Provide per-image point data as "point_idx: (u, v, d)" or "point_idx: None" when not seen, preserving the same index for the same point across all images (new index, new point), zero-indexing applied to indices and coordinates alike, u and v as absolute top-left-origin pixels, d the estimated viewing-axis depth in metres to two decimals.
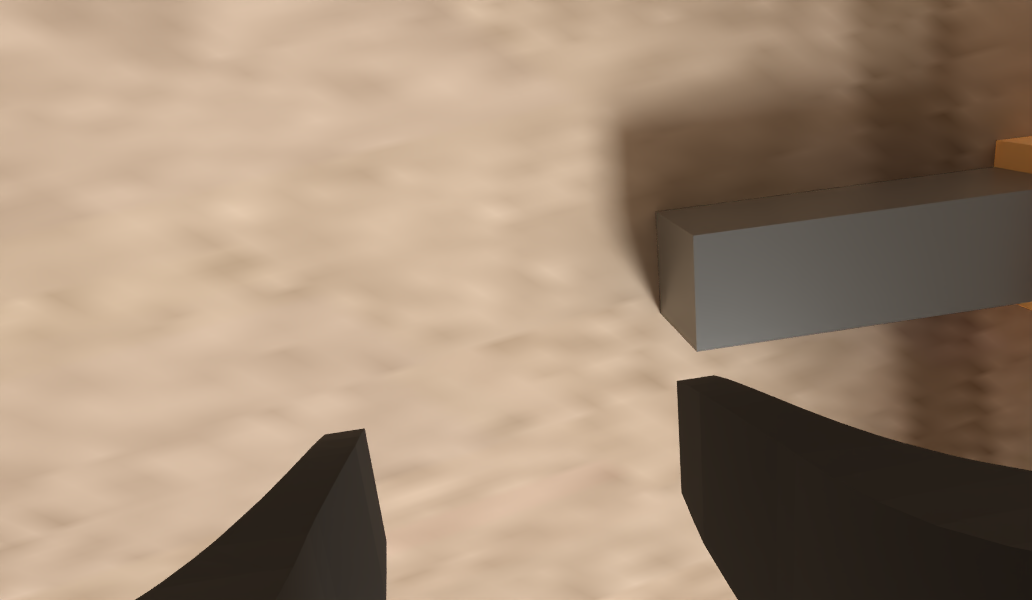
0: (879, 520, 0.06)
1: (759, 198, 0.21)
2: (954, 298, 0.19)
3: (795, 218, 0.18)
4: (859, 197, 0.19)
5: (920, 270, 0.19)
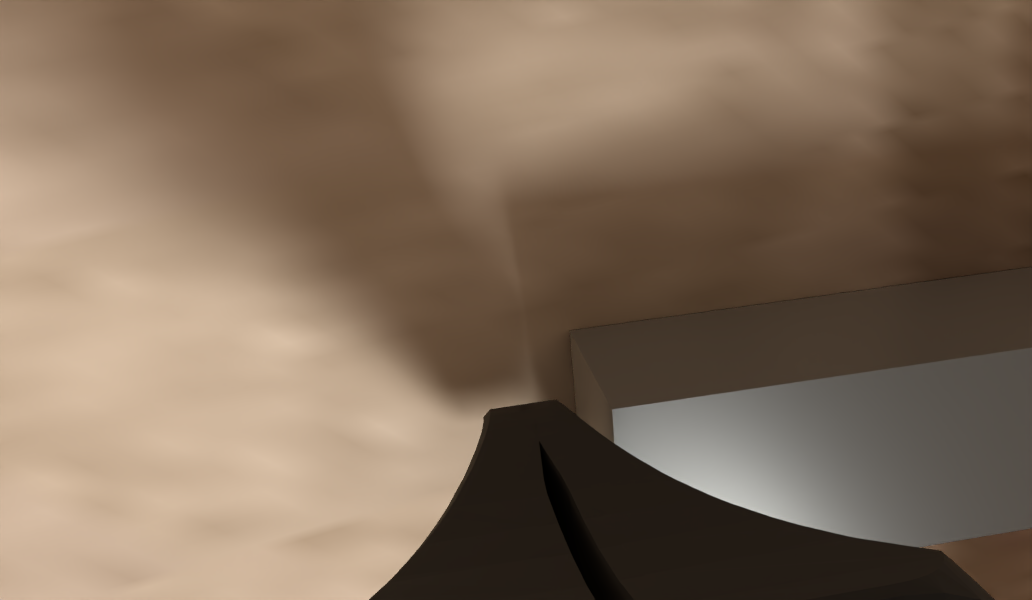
0: (600, 568, 0.06)
1: (739, 308, 0.13)
2: None
3: (798, 371, 0.10)
4: (906, 318, 0.11)
5: (1015, 456, 0.11)
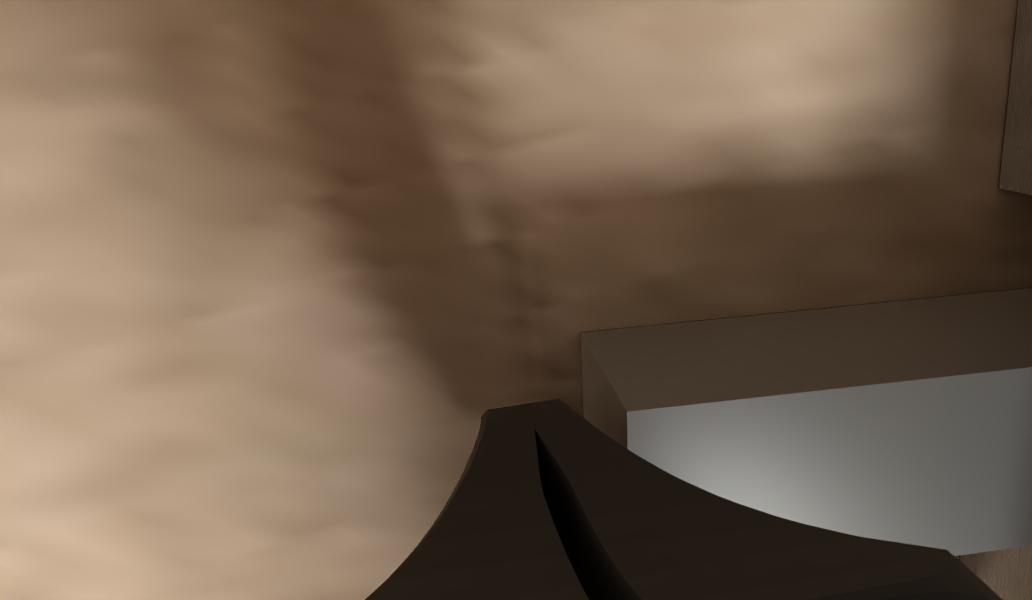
0: (606, 568, 0.06)
1: (750, 316, 0.13)
2: None
3: (812, 381, 0.10)
4: (916, 333, 0.12)
5: (1021, 473, 0.11)
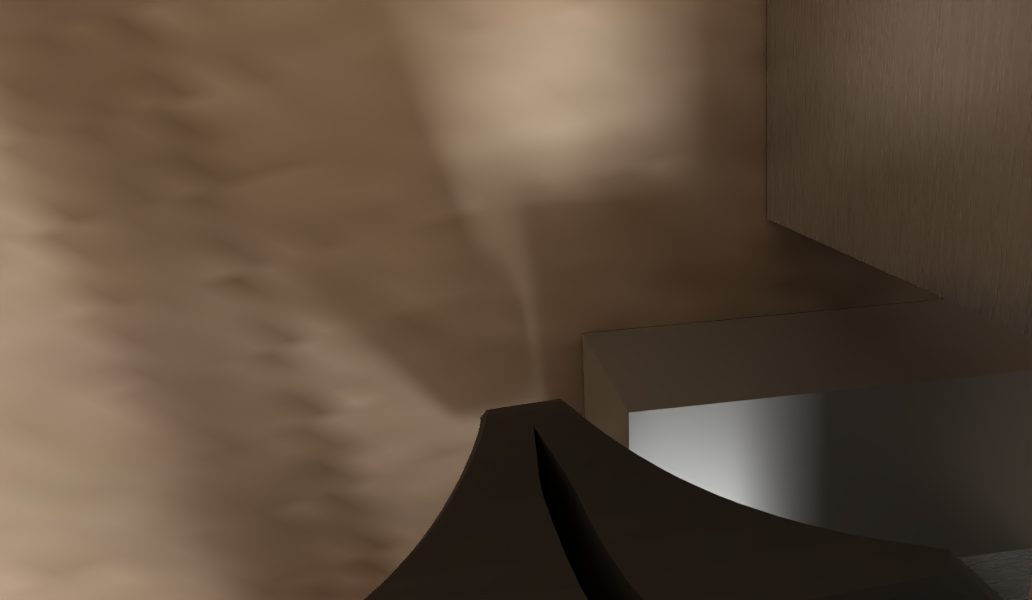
0: (607, 568, 0.06)
1: (751, 318, 0.13)
2: None
3: (813, 383, 0.10)
4: (917, 335, 0.12)
5: (1021, 476, 0.11)
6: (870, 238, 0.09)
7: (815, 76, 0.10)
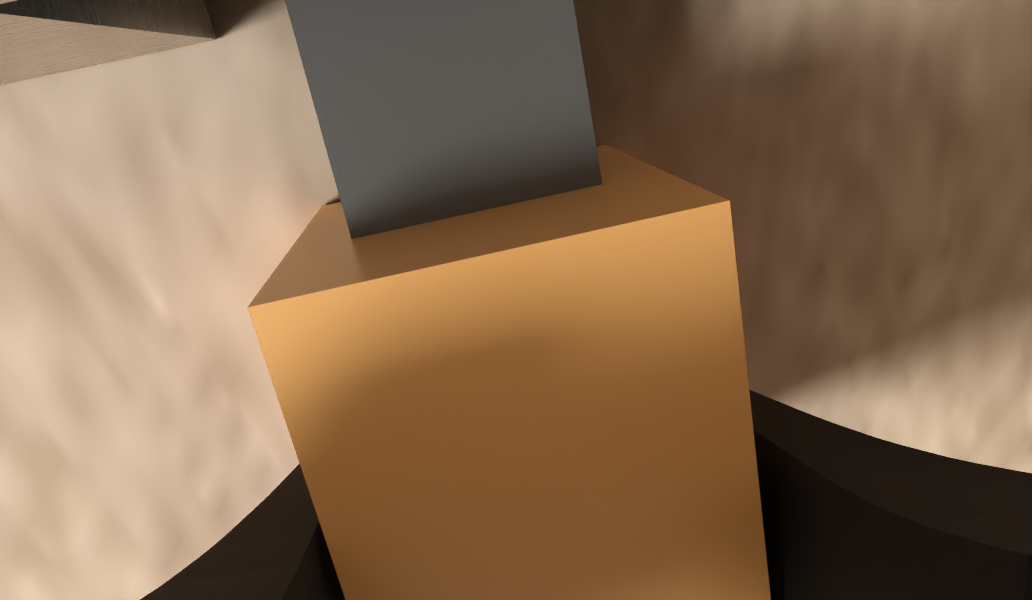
0: (872, 522, 0.06)
1: None
2: None
3: None
4: None
5: None
6: None
7: None
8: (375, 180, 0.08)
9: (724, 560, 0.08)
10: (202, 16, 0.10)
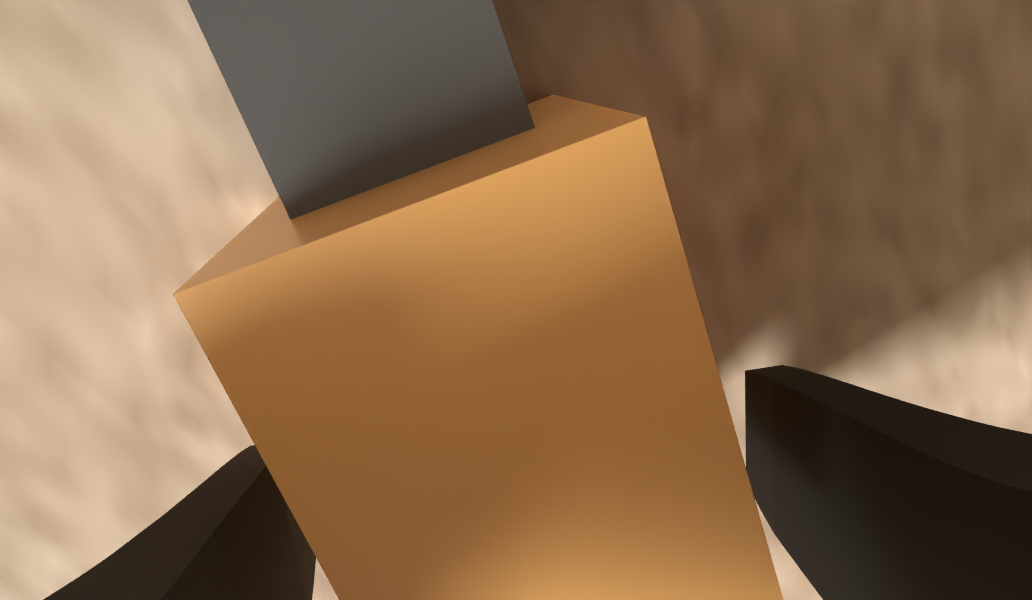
0: (995, 501, 0.07)
1: None
2: None
3: None
4: None
5: None
6: None
7: None
8: (302, 156, 0.08)
9: (706, 490, 0.08)
10: None
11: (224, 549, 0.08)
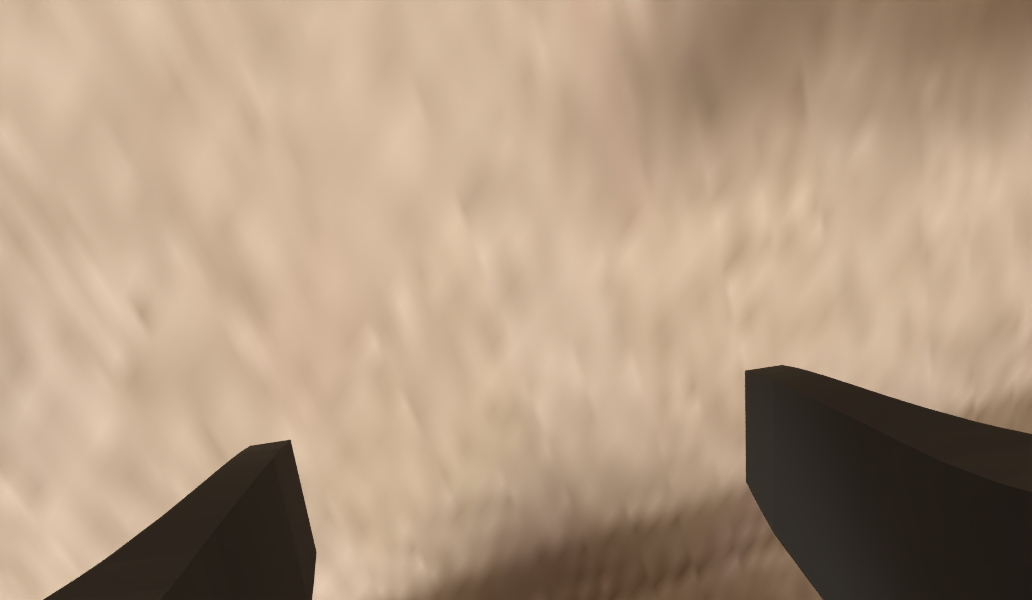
0: (996, 500, 0.07)
1: None
2: None
3: None
4: None
5: None
6: None
7: None
8: None
9: None
10: None
11: (224, 549, 0.08)
